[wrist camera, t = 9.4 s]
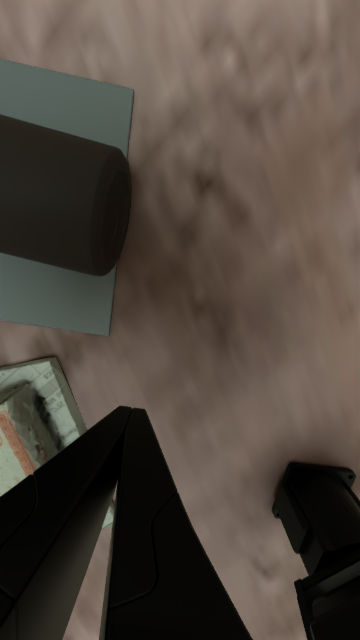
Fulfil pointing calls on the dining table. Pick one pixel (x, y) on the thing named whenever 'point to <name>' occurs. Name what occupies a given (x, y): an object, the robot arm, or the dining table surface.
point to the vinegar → (62, 198)
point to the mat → (80, 120)
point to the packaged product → (36, 420)
